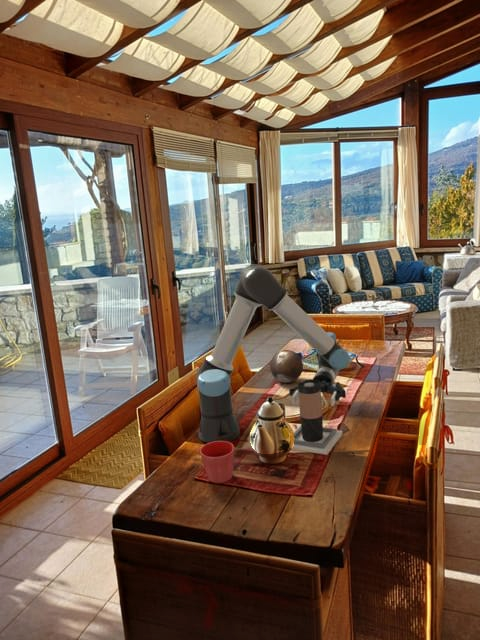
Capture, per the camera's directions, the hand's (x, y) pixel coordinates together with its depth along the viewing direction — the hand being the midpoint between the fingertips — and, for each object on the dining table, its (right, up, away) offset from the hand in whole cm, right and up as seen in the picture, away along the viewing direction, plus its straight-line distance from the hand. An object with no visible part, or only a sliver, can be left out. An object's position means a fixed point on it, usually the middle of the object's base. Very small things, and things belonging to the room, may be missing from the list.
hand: (312, 401), depth 178 cm
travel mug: (0, -13, +2) cm, 13 cm away
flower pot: (-31, -21, -16) cm, 41 cm away
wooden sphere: (-3, -1, +62) cm, 62 cm away
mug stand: (0, -14, +2) cm, 14 cm away
